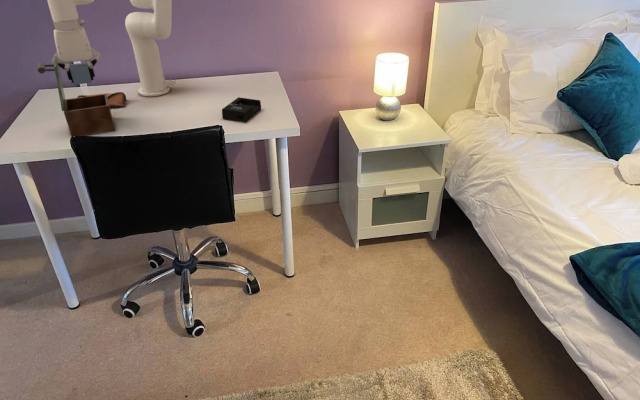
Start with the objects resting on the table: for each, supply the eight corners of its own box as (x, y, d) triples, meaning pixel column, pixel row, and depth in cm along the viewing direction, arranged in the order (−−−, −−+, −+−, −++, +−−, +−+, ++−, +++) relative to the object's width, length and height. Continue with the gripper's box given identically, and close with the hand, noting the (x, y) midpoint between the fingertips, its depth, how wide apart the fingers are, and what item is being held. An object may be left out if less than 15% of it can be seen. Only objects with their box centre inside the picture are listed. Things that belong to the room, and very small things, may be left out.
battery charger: (245, 123, 175) (244, 112, 173) (222, 119, 178) (221, 109, 176) (261, 109, 185) (260, 100, 183) (239, 106, 188) (238, 97, 186)
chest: (112, 117, 180) (106, 93, 175) (115, 130, 170) (108, 105, 165) (71, 123, 175) (64, 99, 170) (71, 137, 166) (63, 112, 160)
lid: (57, 55, 163) (38, 55, 160) (56, 66, 153) (35, 66, 151) (65, 98, 170) (46, 98, 168) (64, 110, 160) (45, 111, 158)
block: (91, 77, 167) (87, 62, 164) (91, 82, 163) (87, 66, 160) (74, 80, 165) (69, 64, 162) (74, 84, 161) (69, 68, 158)
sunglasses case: (75, 111, 184) (72, 93, 183) (80, 114, 190) (77, 97, 190) (125, 106, 188) (122, 89, 187) (128, 109, 194) (125, 92, 194)
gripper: (95, 20, 160) (108, 73, 169) (38, 25, 154) (55, 80, 164) (96, 25, 154) (110, 80, 164) (37, 30, 148) (54, 87, 158)
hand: (82, 79), depth 163 cm, fingers closed on block, 5 cm apart
